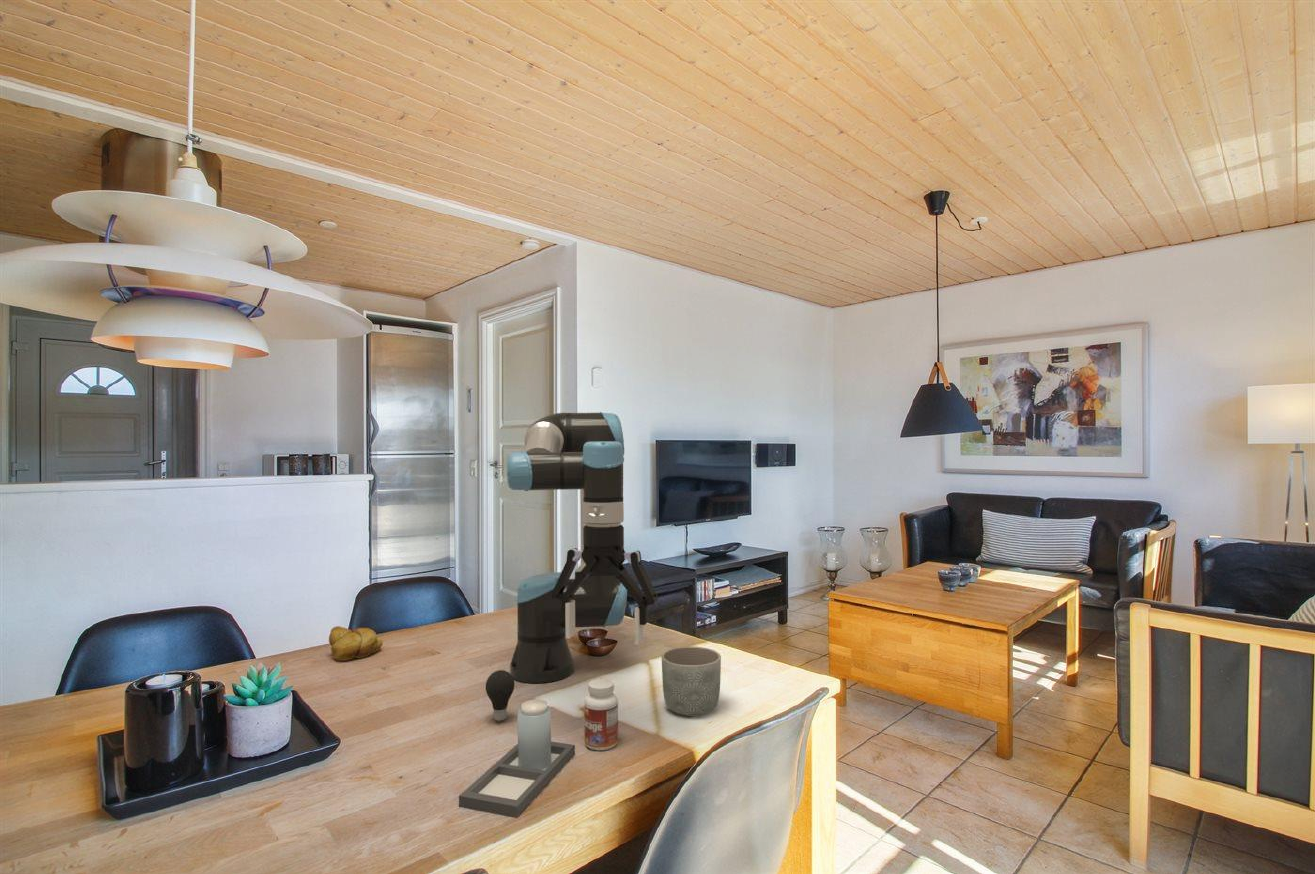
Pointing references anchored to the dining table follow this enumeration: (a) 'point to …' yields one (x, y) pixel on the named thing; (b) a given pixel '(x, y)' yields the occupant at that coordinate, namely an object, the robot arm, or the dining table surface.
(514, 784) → the dark grey tray
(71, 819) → the dining table surface
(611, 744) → the pill bottle
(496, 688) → the light bulb
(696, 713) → the planter
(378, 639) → the bread roll
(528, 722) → the pale blue jar
